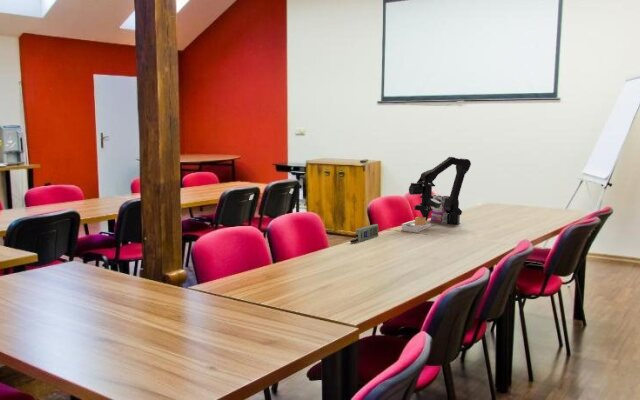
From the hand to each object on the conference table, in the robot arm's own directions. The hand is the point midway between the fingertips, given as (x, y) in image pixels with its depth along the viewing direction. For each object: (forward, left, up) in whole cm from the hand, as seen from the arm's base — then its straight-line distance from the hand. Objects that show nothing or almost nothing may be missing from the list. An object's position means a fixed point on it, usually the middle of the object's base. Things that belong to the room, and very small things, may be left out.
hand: (425, 220), depth 342 cm
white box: (0, +11, -3) cm, 12 cm away
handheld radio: (+8, +54, -4) cm, 55 cm away
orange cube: (0, +7, -1) cm, 7 cm away
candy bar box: (0, -19, -3) cm, 19 cm away
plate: (0, -2, -3) cm, 4 cm away
